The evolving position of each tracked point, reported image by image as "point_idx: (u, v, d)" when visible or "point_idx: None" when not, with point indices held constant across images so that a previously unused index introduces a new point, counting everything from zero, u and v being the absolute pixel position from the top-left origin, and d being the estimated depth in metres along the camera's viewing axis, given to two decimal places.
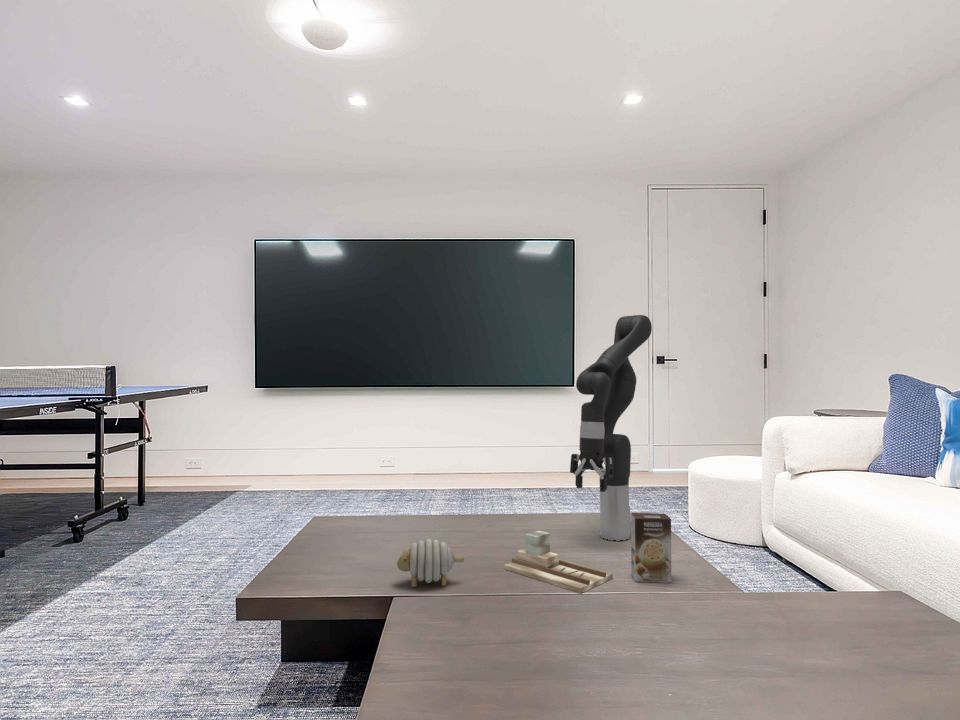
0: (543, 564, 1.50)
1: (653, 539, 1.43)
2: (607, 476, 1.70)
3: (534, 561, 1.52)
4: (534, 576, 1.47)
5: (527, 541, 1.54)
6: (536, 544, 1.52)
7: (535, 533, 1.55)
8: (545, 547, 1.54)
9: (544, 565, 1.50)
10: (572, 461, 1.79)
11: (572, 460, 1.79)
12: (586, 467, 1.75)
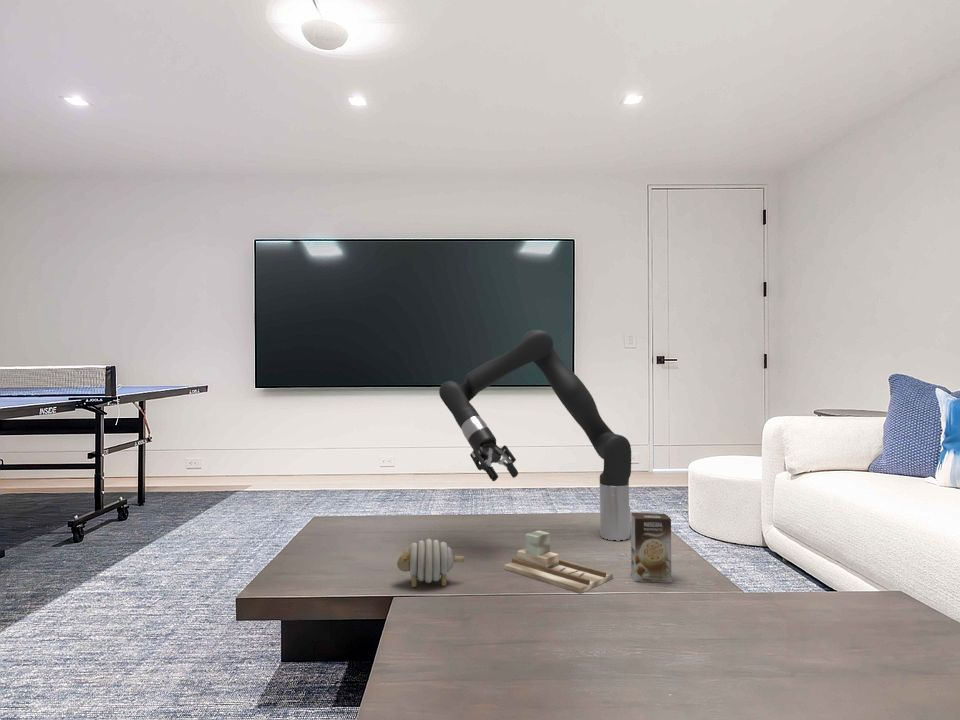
0: (543, 564, 1.50)
1: (653, 539, 1.43)
2: None
3: (534, 561, 1.52)
4: (534, 576, 1.47)
5: (527, 541, 1.54)
6: (536, 544, 1.52)
7: (535, 533, 1.55)
8: (545, 547, 1.54)
9: (544, 565, 1.50)
10: None
11: None
12: None
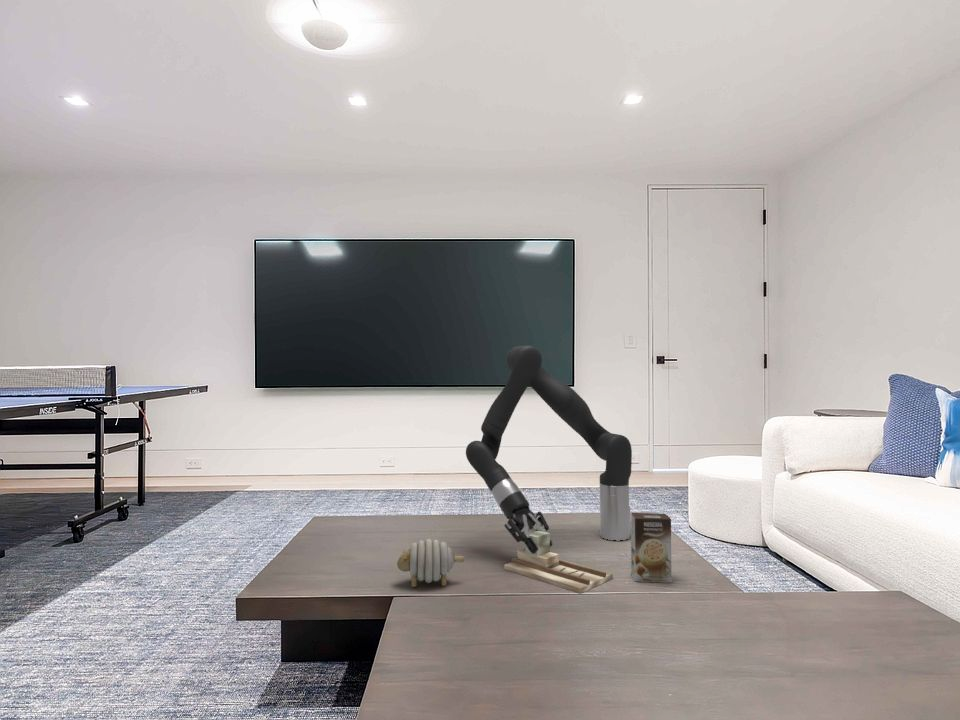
0: (543, 564, 1.50)
1: (653, 539, 1.43)
2: None
3: (534, 561, 1.52)
4: (534, 576, 1.47)
5: None
6: (536, 544, 1.52)
7: (535, 533, 1.55)
8: (545, 547, 1.54)
9: (544, 565, 1.50)
10: None
11: None
12: None
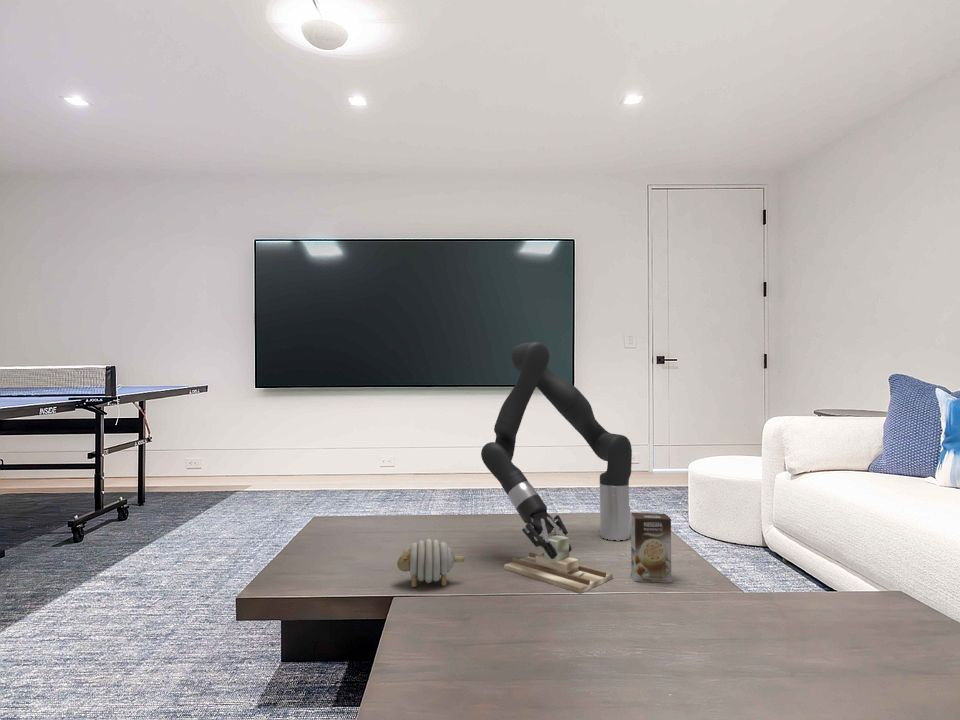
0: (563, 570, 1.46)
1: (653, 539, 1.43)
2: None
3: (553, 567, 1.48)
4: (534, 576, 1.47)
5: None
6: (555, 549, 1.47)
7: (554, 538, 1.51)
8: (564, 552, 1.50)
9: (564, 571, 1.45)
10: None
11: None
12: None
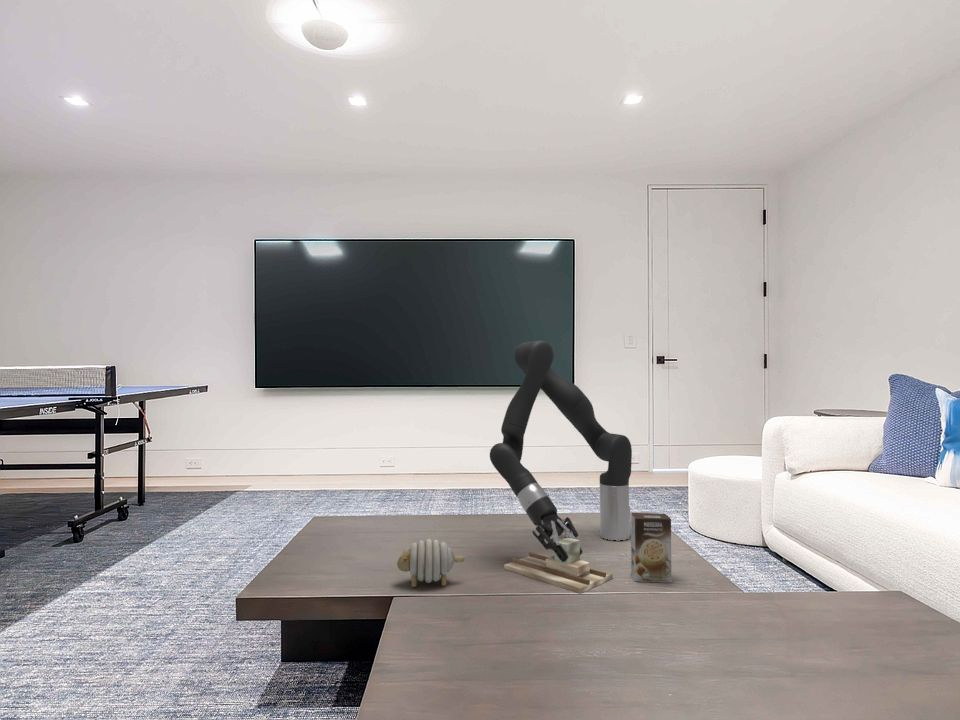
0: (574, 573, 1.43)
1: (653, 539, 1.43)
2: None
3: (564, 570, 1.45)
4: (534, 576, 1.47)
5: None
6: (566, 552, 1.45)
7: (565, 541, 1.48)
8: (575, 555, 1.47)
9: (575, 574, 1.43)
10: None
11: None
12: None
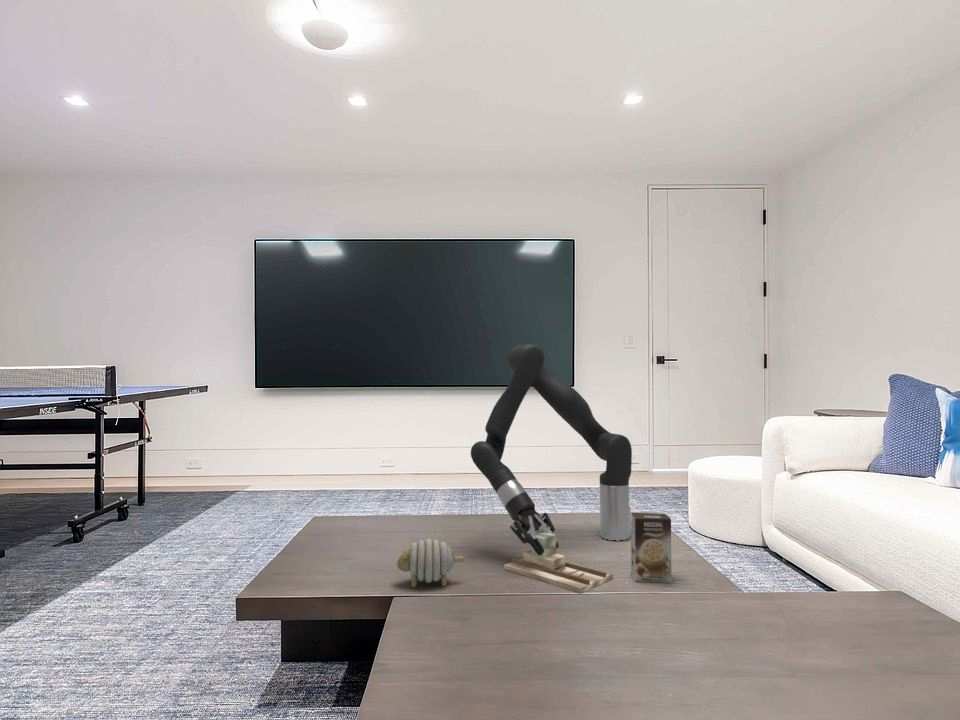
0: (549, 566, 1.49)
1: (653, 539, 1.43)
2: None
3: (540, 563, 1.51)
4: (534, 576, 1.47)
5: None
6: (542, 546, 1.51)
7: (541, 535, 1.54)
8: (551, 549, 1.53)
9: (550, 567, 1.48)
10: None
11: None
12: None
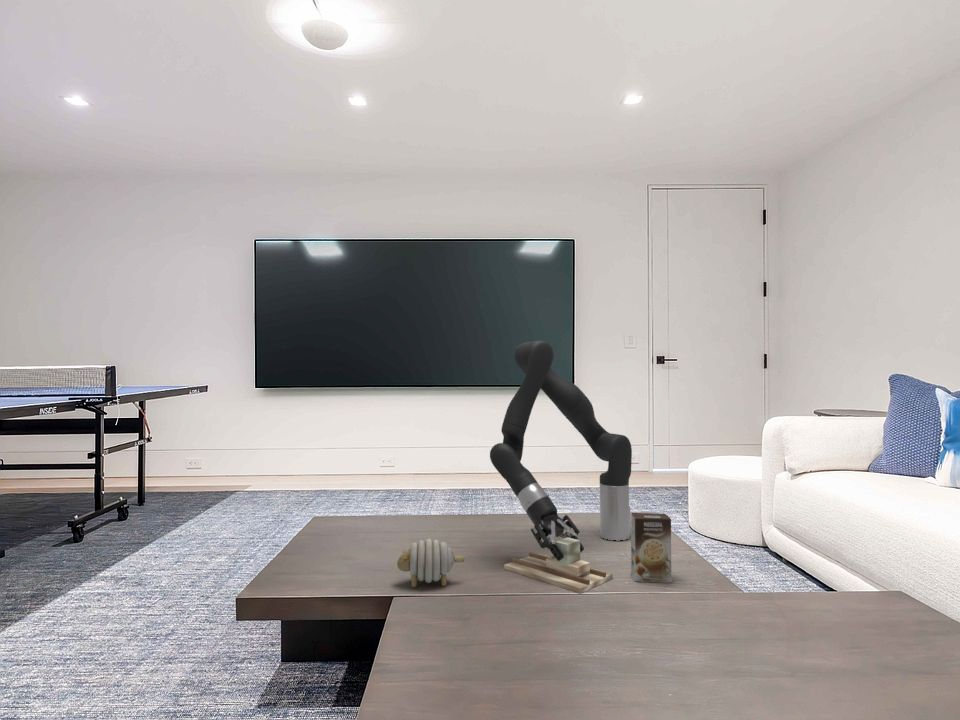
0: (574, 573, 1.43)
1: (653, 539, 1.43)
2: None
3: (564, 570, 1.45)
4: (534, 576, 1.47)
5: None
6: (566, 552, 1.45)
7: (565, 541, 1.48)
8: (575, 555, 1.47)
9: (575, 574, 1.43)
10: None
11: None
12: None
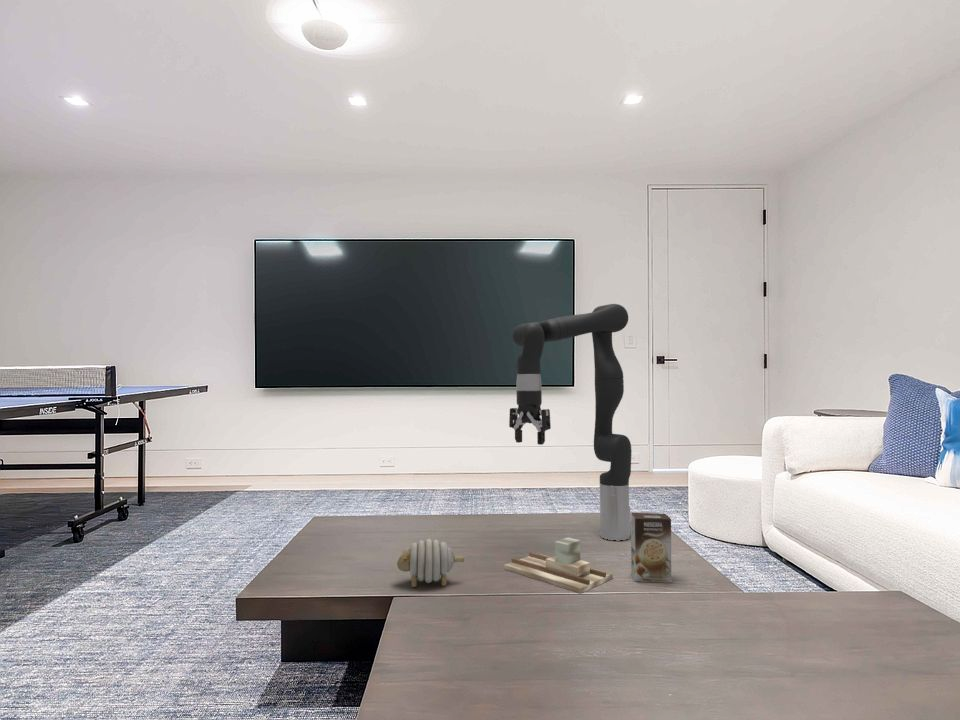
0: (574, 573, 1.43)
1: (653, 539, 1.43)
2: (544, 428, 1.65)
3: (564, 570, 1.45)
4: (534, 576, 1.47)
5: (556, 549, 1.47)
6: (566, 552, 1.45)
7: (565, 541, 1.48)
8: (575, 555, 1.47)
9: (575, 574, 1.43)
10: (511, 415, 1.75)
11: (511, 414, 1.75)
12: (524, 420, 1.71)
